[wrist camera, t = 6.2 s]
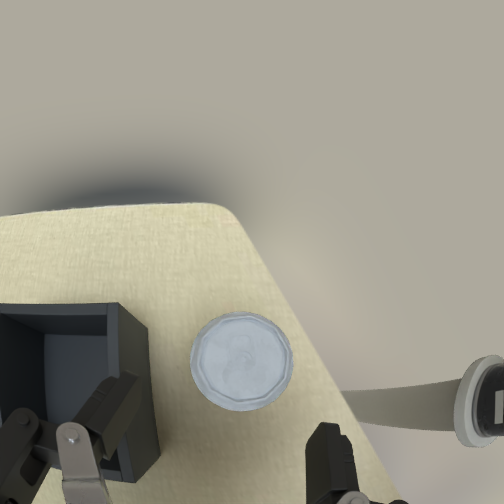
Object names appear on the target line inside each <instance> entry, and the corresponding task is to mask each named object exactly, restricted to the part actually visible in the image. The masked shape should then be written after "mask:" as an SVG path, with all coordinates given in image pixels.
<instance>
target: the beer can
mask: <svg viewBox="0 0 504 504" xmlns="http://www.w3.org/2000/svg"><path fill="white" fill-rule="evenodd" d="M190 369H191V373H192V377H193V379H194V381H195V383H196V385H197V387H198V389H199V390H200V391H201V393H202V394H203V395H204V396H205V397H206V398H207V399H209V400H210V401H211V402H213V403H215V404H217V405H218V406H220V407H222V408H225V409H229V410H233V411H251V410H255V409H259V408H262V407H264V406H266V405H268V404H269V403H271V402H273V401H274V400H276V399H277V398H278V397H279V396H280V394H281V393H282V392H283V391H284V390H285V388H286V387H287V385H288V383H289V381H290V379H291V375H292V371H293V353H292V350H291V346H290V343H289V341H288V339H287V338H286V336H285V334H284V333H283V332H282V330H281V329H280V328H279V327H278V326H277V325H275V324H274V323H273V322H272V321H270V320H268V319H266V318H265V317H263V316H261V315H258V314H254V313H249V312H232V313H228V314H224V315H222V316H219V317H217V318H215V319H213V320H212V321H210V322H209V323H208V324H207V325H206V326H205V327H204V328H203V329H202V330H201V331H200V332H199V334H198V335H197V337H196V339H195V340H194V343H193V345H192V349H191V353H190Z"/></svg>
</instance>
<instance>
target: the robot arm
mask: <svg viewBox="0 0 504 504" xmlns="http://www.w3.org/2000/svg"><path fill="white" fill-rule="evenodd" d="M140 402H141V376H139V375H137V374H134V373H132V372H130V371H127V370H124V371H123V372H122V373H121V375H120V376H119V378H118V379H117V378H115V377H113V376H110V377H108V378H106V379H105V380H103V381H101V383H100V384H99V385H98V387H97V388H96V390H95V391H94V392H93V393H92V394H91V397H89V398H88V400H87V401H86V402H85V404H84V405H83V406H82V408H81V409H80V410H79V412H78V413H77V414H76V416H75V417H74V418H73V419H72V420H71V421H70V422H66V423H63V424H54V423H51V422H47V421H44V420H41V419H38V417H37V415H36V414H35V413H34V412H33V411H32V410H30V409H28V408H18V409H16V410H14V411H13V412H12V413H11V415H10V416H9V417H8V418H7V420H6V421H5V422H4V424H3V425H2V426H1V428H0V504H31V503H32V501H33V499H34V497H35V496H36V494H37V492H38V490H39V488H40V486H41V484H42V482H43V480H44V479H45V477H46V475H47V473H48V471H49V469H50V468H51V466H52V464H53V465H57V466H60V467H61V469H62V474H63V480H62V489H63V493H64V497H65V501H66V504H113V503H112V500H111V498H110V495H109V492H108V489H107V486H106V483H105V480H104V477H103V474H102V470H101V467H100V461H101V459H102V457H103V458H105V459H107V460H109V461H110V459H111V457H112V455H113V453H114V451H115V450H116V448H117V446H118V444H119V442H120V440H121V439H122V437H123V435H124V433H125V431H126V430H127V428H128V426H129V424H130V422H131V421H132V419H133V417H134V415H135V413H136V412H137V410H138V408H139V406H140ZM472 423H473V427H474V430H475V432H476V433H477V435H479V436H480V437H483V438H488V437H494V436H504V362H503V363H497V364H494V365H491V366H489V367H488V368H486V369H485V371H484V372H483V373H482V375H481V376H480V378H479V380H478V383H477V385H476V388H475V392H474V396H473V401H472ZM305 458H306V504H383V503H378V502H373V501H370V500H369V499H368V497H367V496H366V495H365V494H363V493H361V492H360V490H359V486H358V479H357V473H356V467H355V463H354V455H353V449H352V444H351V442H350V441H349V439H348V438H347V436H346V435H341V433H340V427H339V425H338V424H335V423H326V422H321V423H320V424H319V426H318V427H317V428H316V430H315V431H314V433H313V434H312V435H311V437H310V438H309V440H308V441H307V444H306V449H305ZM389 504H408V503H407V502H405V501H403V500H394V501H392V502H391V503H389Z"/></svg>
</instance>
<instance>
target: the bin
mask: <svg viewBox="0 0 504 504" xmlns="http://www.w3.org/2000/svg"><path fill="white" fill-rule="evenodd" d="M124 370H127V371H130V372H132V373H134V374H137V375H139V376H141V402H140V406H139V408H138V410H137V412H136V413H135V415H134V417H133V419H132V421H131V422H130V424H129V426H128V428H127V430H126V431H125V433H124V435H123V437H122V439H121V440H120V442H119V444H118V446H117V448H116V450H115V451H114V453H113V455H112V457H111V459H110V461H109V460H107V459H105V458H103V457H102V459H101V461H100V467H101V470H102V474H103V477H104V479H107V480H113V481H121V482H123V481H124V482H128V483H136V482H137V481H138V480H139V479H140V478H141V477H142V476H143V475H144V474H145V473H146V471H147V470H148V469H149V468H150V467H151V466H152V465H153V464H154V463H155V462H156V461H157V459H158V458H159V457H160V456H161V455H160V449H159V443H158V436H157V430H156V423H155V415H154V407H153V398H152V388H151V377H150V364H149V348H148V329H147V328H146V327H145V326H144V325H143V324H142V323H141V322H140V321H139V320H137V319H136V318H135V317H134V316H133V315H132V314H131V313H129V312H128V311H127V310H126V309H125V308H124V307H123V306H122V305H121V304H119V303H118V302H117V303H87V304H6V303H0V428H1V426H2V425H3V424H4V422H5V421H6V420H7V418H8V417H9V416H10V415H11V413H12V412H13V411H14V410H16V409H18V408H28V409H30V410H32V411H33V412H34V413H35V414H36V415H37V417H38V419H41V420H44V421H47V422H51V423H54V424H63V423H66V422H70V421H71V420H72V419H73V418H74V417H75V416H76V414H77V413H78V412H79V410H80V409H81V408H82V406H83V405H84V404H85V402H86V401H87V400H88V398H89V397H91V394H92V393H93V392H94V391H95V390H96V388H97V387H98V385H99V384H100V383H101V381H103V380H105V379H106V378H108V377H110V376H113V377H115V378H117V379H118V378H119V376H120V375H121V373H122V372H123V371H124ZM51 467H52V468H56V469H60V470H62V469H61V467H60V466H57V465H53V464H52V466H51Z"/></svg>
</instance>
